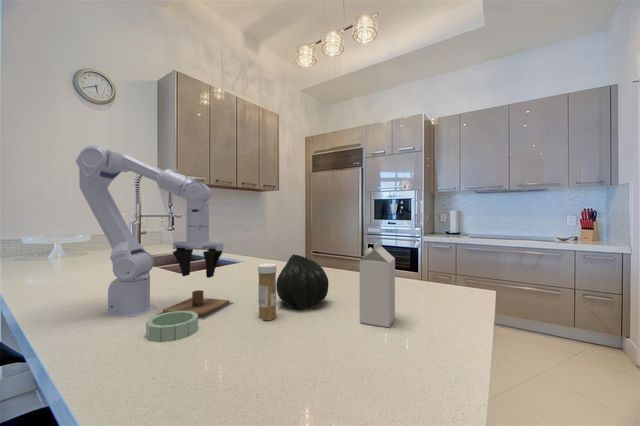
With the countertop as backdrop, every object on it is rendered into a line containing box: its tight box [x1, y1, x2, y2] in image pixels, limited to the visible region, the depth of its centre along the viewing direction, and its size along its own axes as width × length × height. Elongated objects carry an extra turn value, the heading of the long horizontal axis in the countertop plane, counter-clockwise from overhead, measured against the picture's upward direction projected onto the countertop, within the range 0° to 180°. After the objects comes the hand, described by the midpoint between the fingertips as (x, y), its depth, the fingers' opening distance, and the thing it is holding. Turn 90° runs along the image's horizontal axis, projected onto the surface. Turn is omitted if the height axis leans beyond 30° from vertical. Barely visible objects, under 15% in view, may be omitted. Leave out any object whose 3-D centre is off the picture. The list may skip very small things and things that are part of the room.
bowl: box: [145, 311, 199, 342], centre depth 65 cm, size 10×10×3 cm
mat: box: [155, 301, 234, 321], centre depth 81 cm, size 14×14×1 cm
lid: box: [162, 289, 230, 318], centre depth 81 cm, size 12×12×4 cm
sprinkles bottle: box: [257, 262, 277, 321], centre depth 75 cm, size 5×5×14 cm
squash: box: [276, 254, 329, 309], centre depth 87 cm, size 14×15×15 cm
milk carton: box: [359, 241, 396, 328], centre depth 73 cm, size 7×7×19 cm
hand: (197, 276), depth 81 cm, fingers open, 7 cm apart
